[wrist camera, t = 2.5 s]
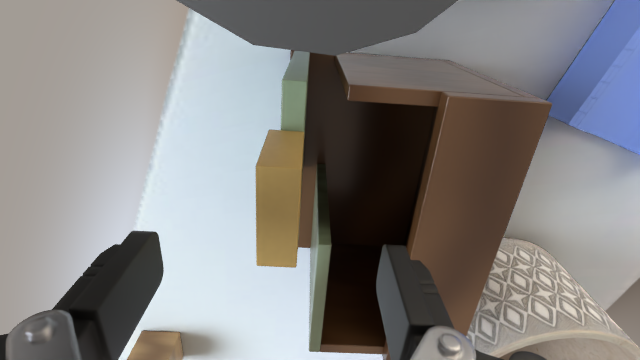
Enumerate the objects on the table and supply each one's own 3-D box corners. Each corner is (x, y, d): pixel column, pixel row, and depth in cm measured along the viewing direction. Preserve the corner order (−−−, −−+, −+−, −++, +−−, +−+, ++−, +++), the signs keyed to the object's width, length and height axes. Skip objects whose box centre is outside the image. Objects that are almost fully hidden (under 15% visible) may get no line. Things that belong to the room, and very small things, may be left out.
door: (283, 167, 32) (256, 306, 17) (286, 49, 27) (254, 102, 13) (303, 169, 32) (293, 308, 17) (309, 51, 27) (305, 105, 13)
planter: (421, 351, 45) (458, 469, 33) (395, 252, 38) (431, 360, 26) (554, 322, 43) (642, 438, 31) (554, 213, 36) (666, 310, 24)
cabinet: (284, 240, 37) (269, 363, 24) (291, 48, 28) (273, 83, 16) (407, 247, 37) (454, 369, 25) (449, 60, 29) (553, 103, 16)
